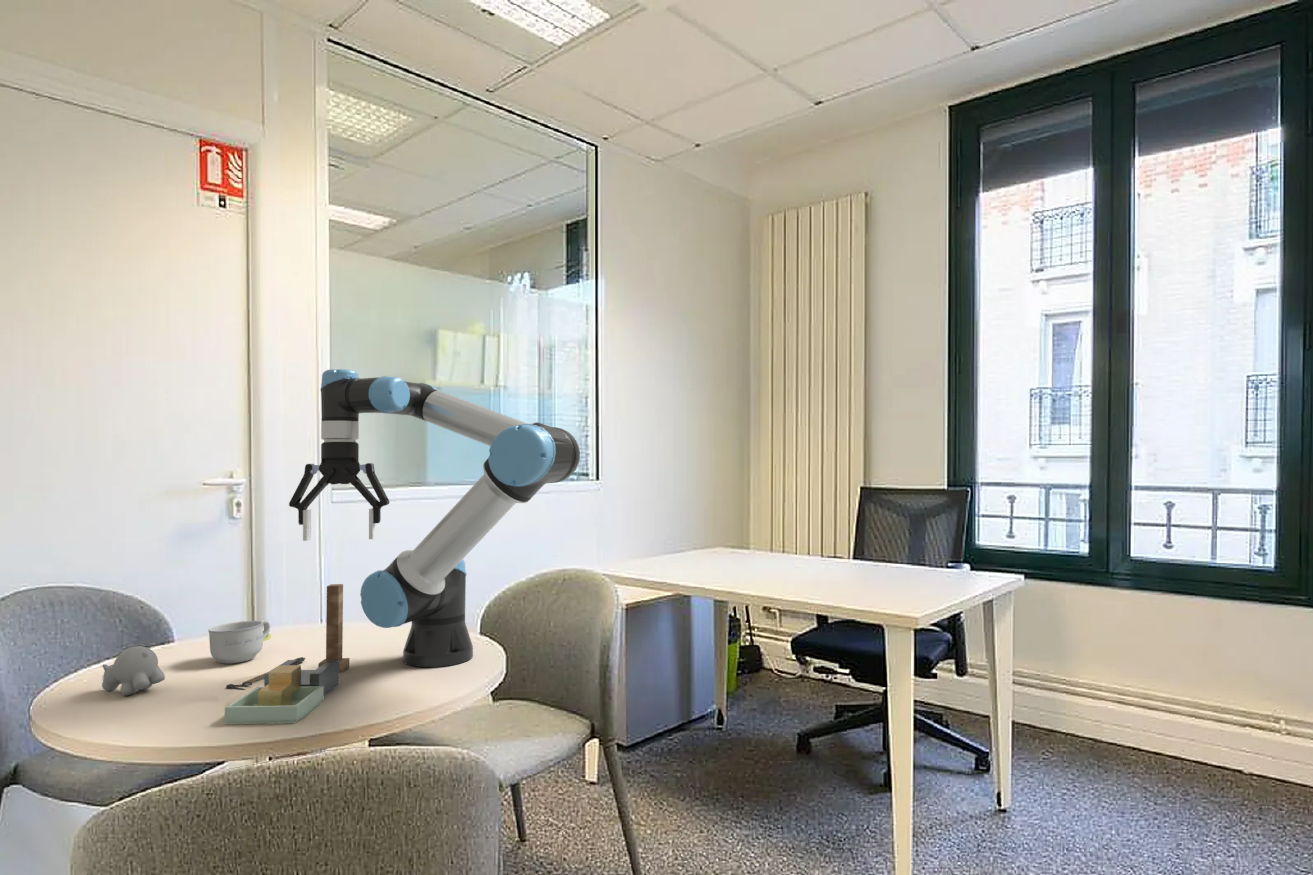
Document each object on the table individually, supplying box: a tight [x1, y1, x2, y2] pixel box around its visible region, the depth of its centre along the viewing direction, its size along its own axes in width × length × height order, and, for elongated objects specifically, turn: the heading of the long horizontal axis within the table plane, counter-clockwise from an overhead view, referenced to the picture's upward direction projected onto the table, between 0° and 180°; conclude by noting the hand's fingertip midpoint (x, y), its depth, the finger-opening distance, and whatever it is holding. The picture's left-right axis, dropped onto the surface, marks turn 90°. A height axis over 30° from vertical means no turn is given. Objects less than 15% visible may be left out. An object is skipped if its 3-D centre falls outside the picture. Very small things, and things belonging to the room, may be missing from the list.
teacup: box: [207, 619, 271, 665], centre depth 171 cm, size 14×11×8 cm
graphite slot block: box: [263, 659, 340, 698], centre depth 146 cm, size 10×10×5 cm
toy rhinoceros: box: [101, 645, 166, 697], centre depth 147 cm, size 7×12×8 cm, turn 75°
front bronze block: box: [258, 683, 292, 706], centre depth 134 cm, size 4×4×4 cm
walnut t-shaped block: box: [317, 583, 351, 674], centre depth 162 cm, size 5×4×18 cm
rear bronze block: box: [268, 664, 302, 694], centre depth 138 cm, size 4×4×4 cm
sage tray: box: [224, 686, 324, 725], centre depth 135 cm, size 12×12×3 cm
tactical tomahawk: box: [226, 656, 306, 691], centre depth 158 cm, size 21×7×1 cm, turn 166°
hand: (339, 539), depth 164 cm, fingers open, 13 cm apart
